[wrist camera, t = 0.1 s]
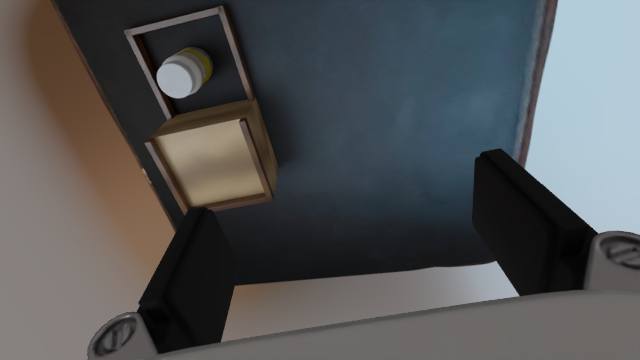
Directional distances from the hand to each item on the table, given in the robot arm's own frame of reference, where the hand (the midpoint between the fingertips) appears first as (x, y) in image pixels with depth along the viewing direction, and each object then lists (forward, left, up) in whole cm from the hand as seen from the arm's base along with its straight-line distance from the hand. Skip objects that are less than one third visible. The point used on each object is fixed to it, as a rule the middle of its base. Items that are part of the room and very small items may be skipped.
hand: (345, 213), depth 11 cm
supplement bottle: (-1, -17, -37) cm, 41 cm away
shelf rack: (+5, -17, -37) cm, 41 cm away
